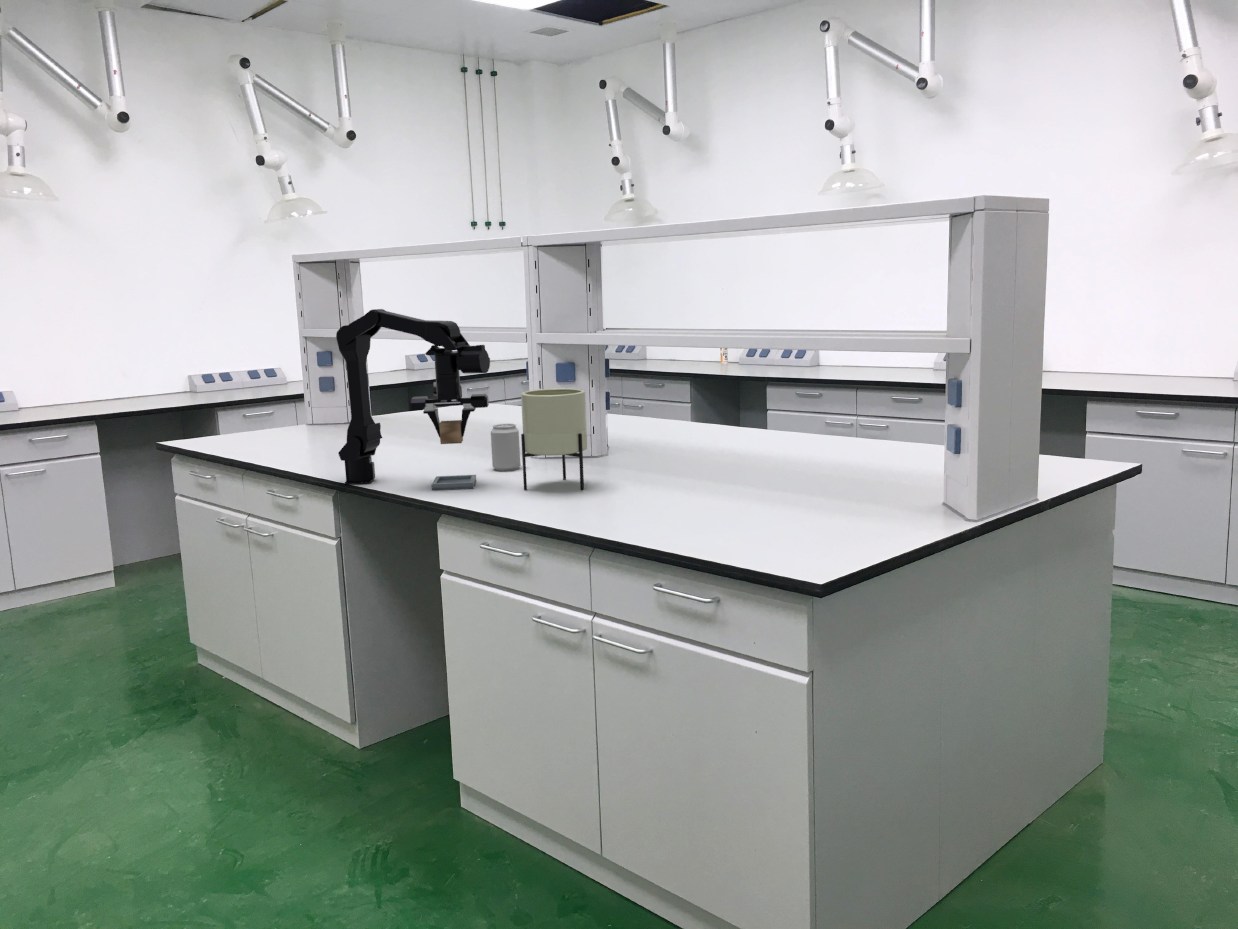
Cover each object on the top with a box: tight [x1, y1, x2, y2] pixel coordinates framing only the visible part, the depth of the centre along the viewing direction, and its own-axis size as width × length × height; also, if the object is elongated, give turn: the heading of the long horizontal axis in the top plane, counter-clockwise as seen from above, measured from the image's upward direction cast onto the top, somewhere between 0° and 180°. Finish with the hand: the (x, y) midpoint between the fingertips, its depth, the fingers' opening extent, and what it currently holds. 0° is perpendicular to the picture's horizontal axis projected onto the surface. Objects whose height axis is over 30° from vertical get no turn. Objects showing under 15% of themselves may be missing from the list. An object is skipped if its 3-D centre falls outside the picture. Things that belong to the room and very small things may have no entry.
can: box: [490, 423, 521, 472], centre depth 259 cm, size 8×8×12 cm
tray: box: [431, 474, 477, 491], centre depth 241 cm, size 10×10×2 cm
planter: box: [520, 387, 588, 491], centre depth 234 cm, size 15×16×23 cm
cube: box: [439, 419, 464, 445], centre depth 239 cm, size 5×5×5 cm
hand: (451, 437), depth 239 cm, fingers closed on cube, 5 cm apart
